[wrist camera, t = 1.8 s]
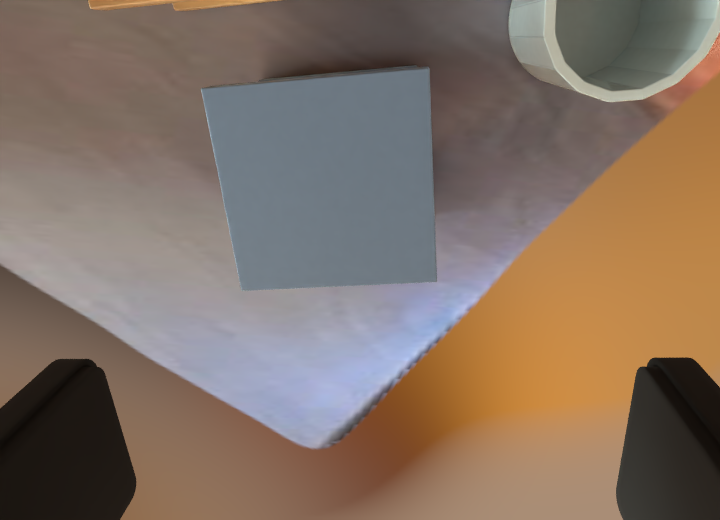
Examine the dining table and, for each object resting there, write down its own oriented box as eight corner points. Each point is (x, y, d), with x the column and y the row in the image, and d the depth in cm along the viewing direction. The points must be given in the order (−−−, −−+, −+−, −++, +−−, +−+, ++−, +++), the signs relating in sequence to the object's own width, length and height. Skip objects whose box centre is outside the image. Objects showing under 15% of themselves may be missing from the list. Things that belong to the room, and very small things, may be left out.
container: (509, -51, 24) (549, -85, 17) (652, -68, 23) (748, -108, 17) (506, 90, 26) (540, 108, 20) (636, 79, 25) (714, 93, 19)
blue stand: (256, 74, 27) (200, 88, 19) (422, 59, 26) (429, 67, 18) (280, 229, 30) (240, 291, 23) (428, 220, 29) (437, 282, 22)
